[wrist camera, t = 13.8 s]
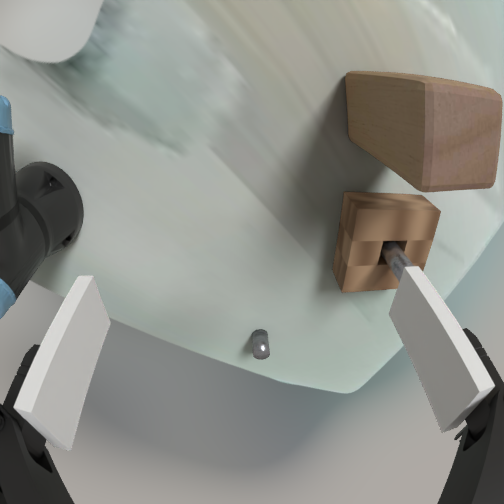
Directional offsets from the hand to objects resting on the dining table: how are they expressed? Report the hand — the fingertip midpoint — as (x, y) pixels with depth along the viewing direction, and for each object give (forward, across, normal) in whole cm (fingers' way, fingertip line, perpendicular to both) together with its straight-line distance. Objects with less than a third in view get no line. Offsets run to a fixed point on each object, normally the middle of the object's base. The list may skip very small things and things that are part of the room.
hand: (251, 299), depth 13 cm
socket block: (+32, +22, -15) cm, 41 cm away
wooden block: (+32, +19, +5) cm, 37 cm away
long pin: (+32, +22, -15) cm, 41 cm away
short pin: (+32, +3, -37) cm, 49 cm away
